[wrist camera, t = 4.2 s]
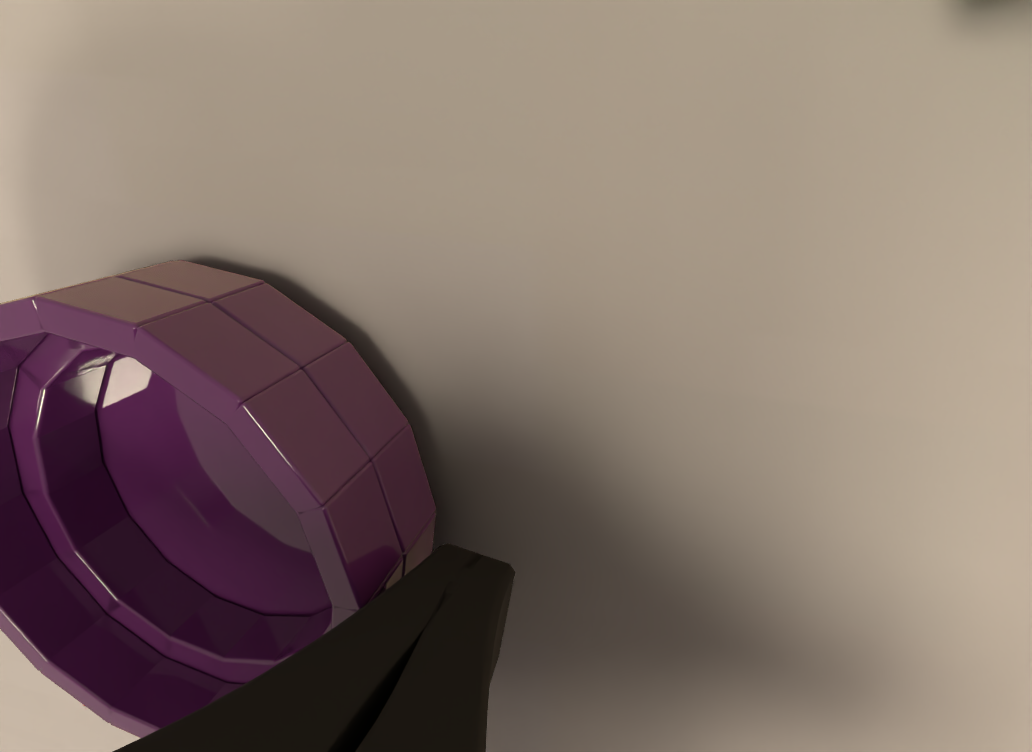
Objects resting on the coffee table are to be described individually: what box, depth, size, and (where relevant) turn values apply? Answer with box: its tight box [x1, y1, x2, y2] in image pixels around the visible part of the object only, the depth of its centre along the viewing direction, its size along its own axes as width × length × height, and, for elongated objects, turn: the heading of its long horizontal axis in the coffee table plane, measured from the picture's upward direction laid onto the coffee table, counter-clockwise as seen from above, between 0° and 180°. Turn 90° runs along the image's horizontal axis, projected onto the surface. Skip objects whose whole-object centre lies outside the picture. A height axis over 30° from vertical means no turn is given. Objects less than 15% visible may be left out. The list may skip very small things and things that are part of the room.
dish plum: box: [0, 260, 436, 738], centre depth 11 cm, size 8×8×3 cm
